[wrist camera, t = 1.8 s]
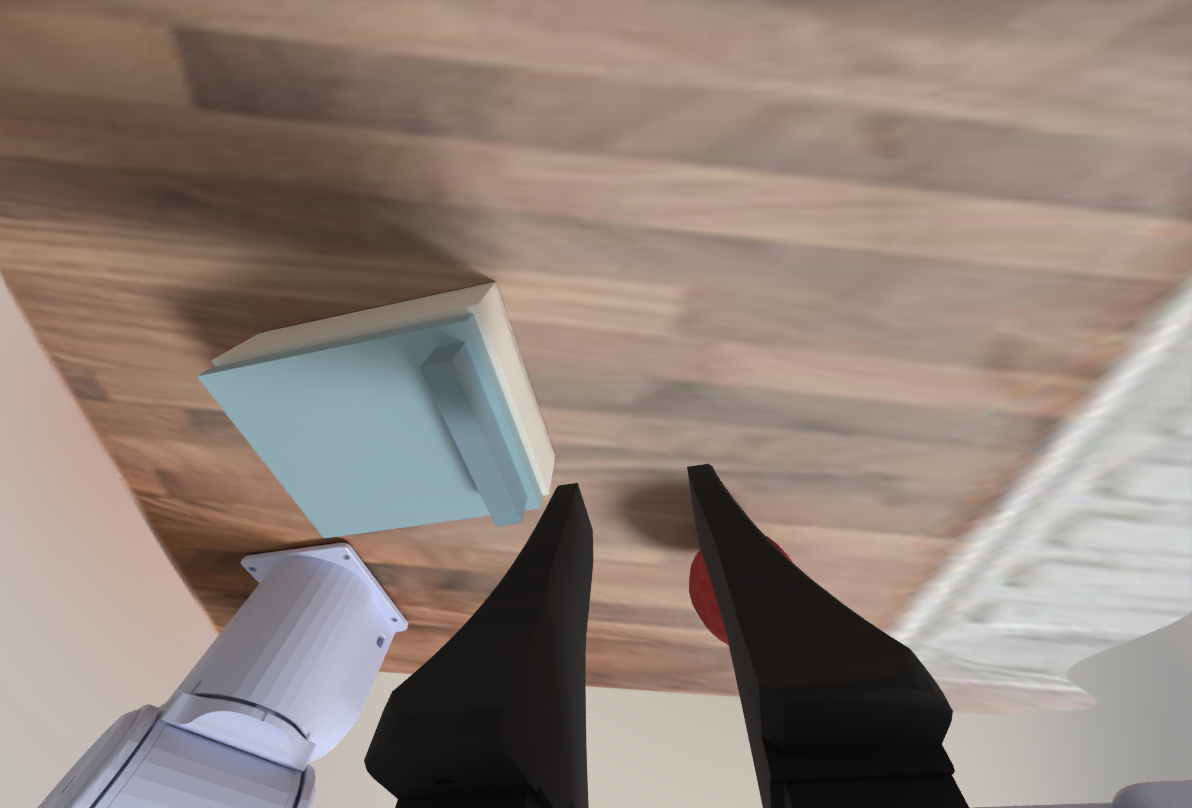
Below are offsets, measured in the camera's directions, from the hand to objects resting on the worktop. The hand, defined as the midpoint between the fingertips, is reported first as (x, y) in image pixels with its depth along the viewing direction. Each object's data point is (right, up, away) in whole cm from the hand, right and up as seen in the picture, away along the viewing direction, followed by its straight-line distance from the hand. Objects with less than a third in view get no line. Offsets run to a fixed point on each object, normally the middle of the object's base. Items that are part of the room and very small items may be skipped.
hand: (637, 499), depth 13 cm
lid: (-11, +1, +7) cm, 13 cm away
